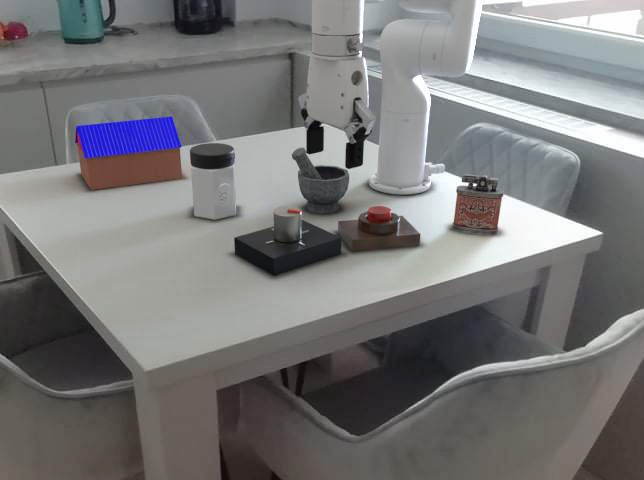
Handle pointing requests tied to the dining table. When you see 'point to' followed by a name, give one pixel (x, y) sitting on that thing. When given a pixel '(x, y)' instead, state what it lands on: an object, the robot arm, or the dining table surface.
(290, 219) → the dial knob
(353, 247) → the button block
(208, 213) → the jar
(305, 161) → the mortar and pestle
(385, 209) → the button
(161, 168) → the house
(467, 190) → the lighter
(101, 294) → the dining table surface
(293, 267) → the control panel
